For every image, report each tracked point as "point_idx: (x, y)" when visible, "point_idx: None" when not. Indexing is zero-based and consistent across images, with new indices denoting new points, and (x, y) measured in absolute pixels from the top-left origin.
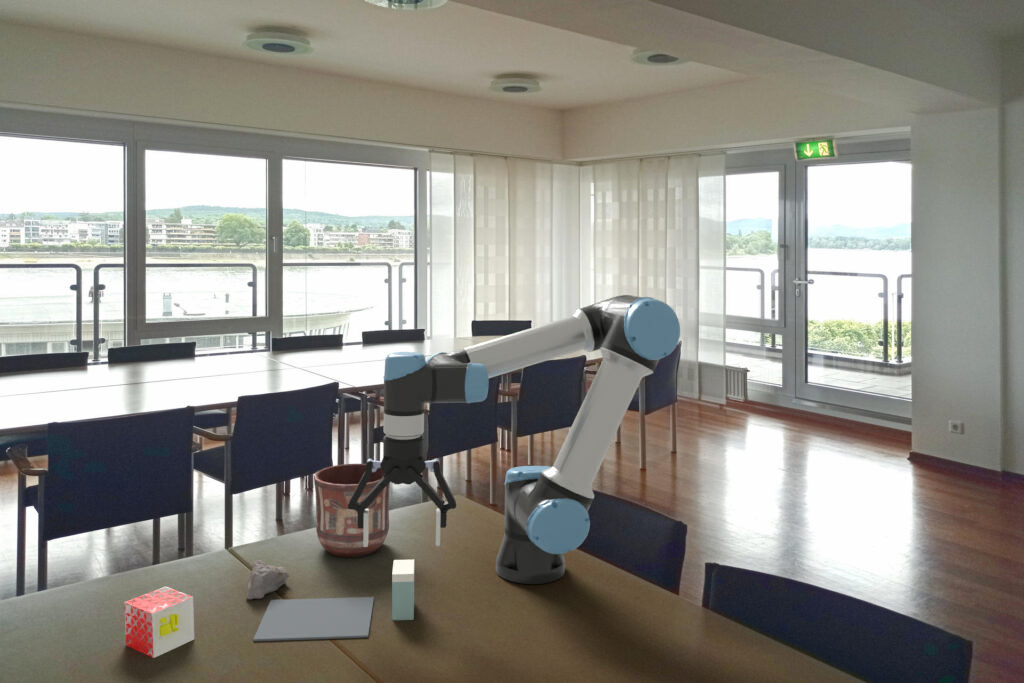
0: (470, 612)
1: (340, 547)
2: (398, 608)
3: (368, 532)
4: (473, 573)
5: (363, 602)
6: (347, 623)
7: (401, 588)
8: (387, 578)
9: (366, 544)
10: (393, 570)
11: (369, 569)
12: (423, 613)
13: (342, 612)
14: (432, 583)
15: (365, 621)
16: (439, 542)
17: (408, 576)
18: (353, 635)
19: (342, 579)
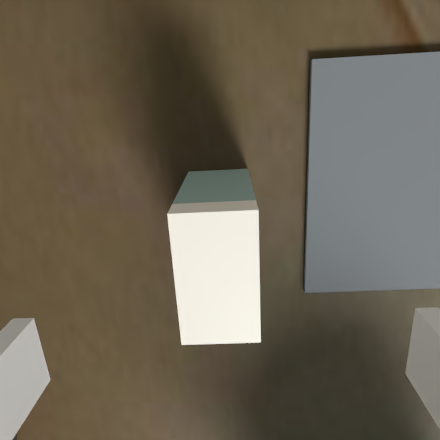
0: (39, 210)
1: None
2: (230, 177)
3: (433, 418)
4: (67, 410)
5: (331, 262)
6: (374, 139)
7: (220, 194)
8: (274, 392)
9: (428, 316)
10: (255, 247)
11: (321, 435)
12: (165, 207)
13: (388, 206)
14: (161, 365)
15: (322, 150)
16: (3, 332)
17: (190, 209)
18: (355, 58)
19: (386, 390)
